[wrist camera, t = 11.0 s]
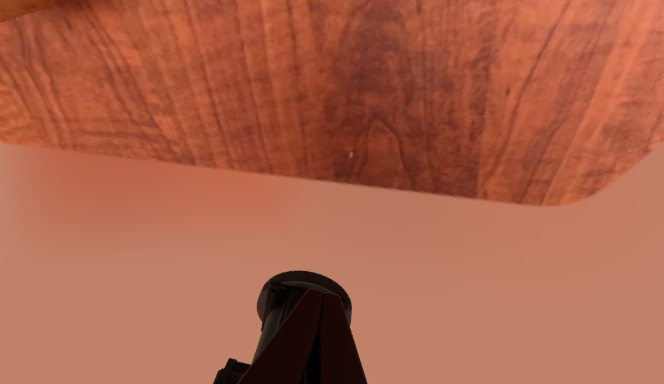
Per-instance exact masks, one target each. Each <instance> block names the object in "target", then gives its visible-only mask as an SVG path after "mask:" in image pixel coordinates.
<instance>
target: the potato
mask: <svg viewBox="0 0 664 384" xmlns="http://www.w3.org/2000/svg"><path fill="white" fill-rule="evenodd" d="M55 1H56V0H0V22H4V21H7V20H10V19H13V18H16V17H19V16H22V15H25V14H28V13H32V12H35V11H38V10H41V9H44V8H47V7H50V6H53V4H54V3H55Z"/></svg>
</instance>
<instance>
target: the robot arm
mask: <svg viewBox="0 0 664 384" xmlns="http://www.w3.org/2000/svg"><path fill="white" fill-rule="evenodd" d="M347 309H348V301H347V300H345V299H342V298H341V297H340V296H339V295H338V294H334V293H330V292H325V293H324V292H323V291H322V290H318V289H314V288H309V289H308V290H305V289H301V288H297V287H293V286H289V285H285V284H281V283H277V282H272V283H270V285H269V287H268V292H267V298H266V304H265V310H264V316H263V322H262V328H261V331H262V334H261V337H260V340H259V343H258V346H257V349H256V352H255V355H254V358H253V361H252V364H251V365H250V364H246V363H242V362H237V360H236V359H232V358H229V360H228V362H227V364H226V366H225V368H224V369H223V368H222V369H221V370H219V371H218V373H217V375H216V378H215V380H214V383H213V384H367V381H366V377H365V374H364V371H363V368H362V364H361V361H360V358H359V355H358V351H357V348H356V345H355V342H354V339H353V335H352V333H351V329H350V326H349V323H348V319H347V316H346V312H347Z"/></svg>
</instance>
